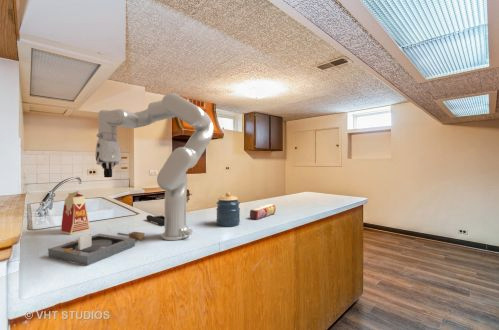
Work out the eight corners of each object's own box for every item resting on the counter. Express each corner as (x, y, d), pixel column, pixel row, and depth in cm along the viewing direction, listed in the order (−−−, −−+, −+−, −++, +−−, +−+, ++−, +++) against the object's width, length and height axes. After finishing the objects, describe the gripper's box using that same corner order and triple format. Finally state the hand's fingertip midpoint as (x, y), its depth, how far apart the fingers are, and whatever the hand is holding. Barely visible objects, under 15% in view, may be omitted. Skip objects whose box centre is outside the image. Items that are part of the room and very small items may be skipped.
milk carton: (90, 230, 124) (90, 190, 124) (70, 235, 116) (70, 192, 116) (79, 227, 128) (78, 189, 128) (59, 232, 120) (58, 191, 119)
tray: (134, 246, 101) (134, 237, 101) (87, 265, 82) (87, 255, 82) (99, 240, 108) (99, 232, 108) (48, 257, 89) (48, 247, 89)
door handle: (169, 212, 156) (144, 215, 144) (187, 217, 142) (160, 221, 131) (169, 218, 156) (143, 221, 144) (186, 223, 142) (160, 227, 130)
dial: (96, 241, 103) (96, 227, 102) (119, 244, 99) (119, 230, 99) (67, 251, 91) (67, 236, 91) (91, 255, 87) (91, 239, 87)
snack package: (257, 220, 146) (257, 209, 145) (248, 219, 149) (248, 208, 149) (276, 214, 163) (276, 204, 162) (267, 213, 167) (267, 203, 166)
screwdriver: (144, 239, 110) (144, 232, 110) (139, 241, 108) (139, 234, 108) (120, 235, 115) (120, 229, 115) (115, 237, 113) (115, 231, 113)
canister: (225, 228, 128) (225, 194, 127) (211, 223, 138) (211, 192, 137) (244, 224, 136) (244, 192, 136) (230, 220, 146) (230, 190, 146)
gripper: (98, 135, 106) (99, 178, 107) (127, 138, 120) (127, 176, 121) (86, 136, 109) (86, 178, 109) (115, 139, 123) (115, 176, 123)
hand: (108, 177), depth 115 cm, fingers closed
